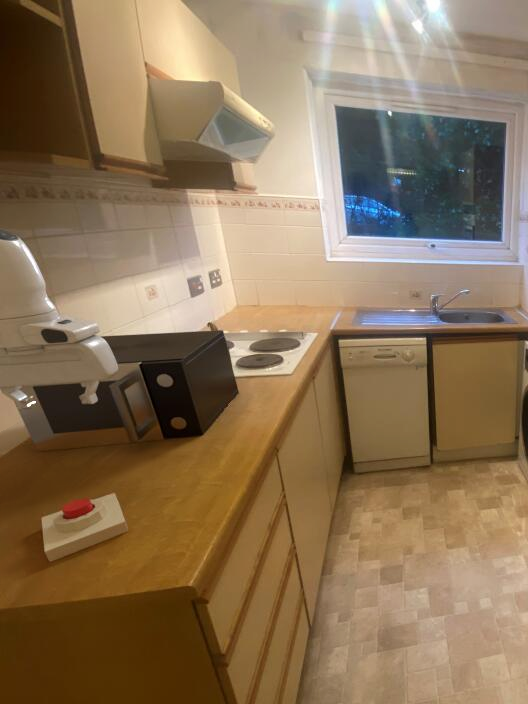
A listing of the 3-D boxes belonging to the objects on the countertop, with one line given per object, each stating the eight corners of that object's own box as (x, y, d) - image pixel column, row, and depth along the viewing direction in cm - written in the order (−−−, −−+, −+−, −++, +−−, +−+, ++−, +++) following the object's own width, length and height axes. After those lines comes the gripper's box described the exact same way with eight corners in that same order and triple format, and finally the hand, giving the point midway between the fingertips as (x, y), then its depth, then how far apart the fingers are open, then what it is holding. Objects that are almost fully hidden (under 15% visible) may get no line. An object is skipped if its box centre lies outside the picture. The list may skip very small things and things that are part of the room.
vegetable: (236, 377, 145) (221, 319, 138) (237, 381, 142) (222, 321, 134) (220, 379, 143) (205, 320, 136) (221, 384, 140) (205, 323, 132)
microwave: (201, 437, 108) (179, 361, 100) (36, 453, 100) (-3, 373, 93) (239, 393, 133) (223, 330, 126) (109, 403, 126) (83, 337, 118)
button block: (46, 527, 78) (36, 509, 76) (118, 501, 84) (111, 484, 83) (49, 562, 70) (39, 543, 69) (129, 531, 77) (121, 513, 75)
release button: (64, 513, 76) (60, 504, 75) (92, 503, 78) (88, 495, 78) (66, 522, 73) (62, 514, 73) (94, 512, 76) (91, 504, 75)
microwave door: (151, 451, 101) (123, 373, 94) (17, 465, 95) (-24, 383, 88) (167, 436, 108) (142, 362, 100) (42, 448, 102) (6, 370, 95)
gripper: (-70, 340, 67) (-27, 419, 73) (83, 331, 71) (113, 407, 77) (-32, 329, 73) (5, 403, 78) (108, 322, 77) (134, 393, 82)
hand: (60, 405), depth 78 cm, fingers open, 8 cm apart
